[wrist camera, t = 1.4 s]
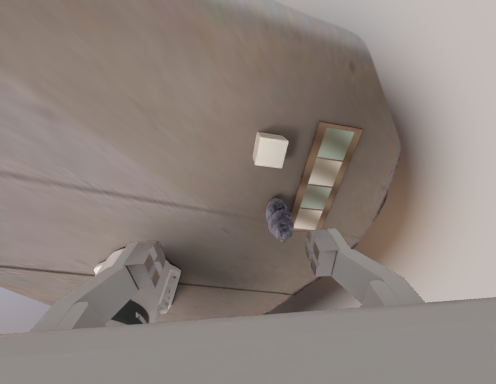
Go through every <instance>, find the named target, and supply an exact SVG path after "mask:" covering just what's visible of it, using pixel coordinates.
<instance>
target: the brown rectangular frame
mask: <svg viewBox="0 0 496 384" xmlns="http://www.w3.org/2000/svg"><path fill="white" fill-rule="evenodd" d="M362 131H363V129H358V128H353V127H347V126H341V125H335V124H330V123H324V122H319V123H318V127H317V130H316V133H315V136H314V139H313V143H312V146H311V149H310V152H309V155H308V158H307V162H306V165H305V168H304V171H303V174H302V177H301V181H300V184H299V187H298V190H297V193H296V196H295V200H294V203H293V206H292V209H291V220H292V221H293V223H294V228H293V231H304V232H307V231H308V230H320V229H322V226H323V224H324V221H325V219H326V217H327V214H328V212H329V210H330V207H331V205H332V202H333V200H334V198H335V195H336V193H337V191H338V188H339V186H340V183H341V181H342V179H343V176H344V174H345V172H346V169H347V167H348V164H349V162H350V160H351V157H352V155H353V153H354V150H355V148H356V145H357V143H358V141H359V138H360V136H361V134H362Z"/></svg>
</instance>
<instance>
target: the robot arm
mask: <svg viewBox="0 0 496 384" xmlns="http://www.w3.org/2000/svg"><path fill="white" fill-rule="evenodd" d="M307 238H308V240H307V241H306V245H305V249H306V254H307V257H308V260H310V261H311V267H312V270H313V272H314V275H315V277H318V276H332V278H334V279H335V280H336V281H337V282H338V283H339V284H340V285H341V286H342V287H344V288H345V289H346V290H347V291H348V292H349V293H350V294H351V295H353V296H354V297H355V298H356V299H357V300H358V301H359V302H360V303H361V304H362V305H361V307H360V308H348V309H334V310H322V311H307V312H296V313H282V314H268V315H255V316H242V317H228V318H214V319H201V320H187V321H174V322H160V323H156V322H157V319H158V316H159V313H162V314H166V313H167V310H168V309H169V308H170V306H171V304H172V301H173V298H174V294H175V291H176V288H177V285H178V281H179V278H180V275H181V270H180V269H178V268H177V267H175V266H173V265H171V264H170V263H169V262H168V261H167V260H166V259H165V254H164V252H163V251H161V250H160V249H161V247H162V246H161V244H160V242H159V241H148V242H131V243H129V244H128V245H127V246H126V247H125V248H124V249H120V250H118V251H115V252H114V253H112V254H111V255H110V256H109V258H108V259H107V260H106V261H104V262H102V263H99V264H98V265H96V267H95V269H94V272H95V273H96V275H95V276H94V277H93V278H91V279H90V280H88V281H87V282H85V283H84V284H82V285H81V286H79V287H78V288H76V289H75V290H73V291H72V292H70V293H69V294H67V295H66V296H64V297H63V298H61V299H60V300H58V301H57V302H55V303H54V304H53V305H52V306H51V307H50V309H49V310H48V311H47V312H46V313H45V315H44V316H43V317H42V318H41V319H40V320H39V321H38V323H37V324H36V325H35V326H34V327H33V328H32V330H31V331H30V332H26V333H13V334H0V384H496V297H494V298H482V299H468V300H455V301H443V302H428V303H425V302H424V301H423V300H422V298H421V297H420V296H419V295H418V294H417V292H416V291H415V290H414V289H413V288H412V287H411V286H410V284H409V283H408V282H407V281H406V280H405V279H404V278H403V277H401V276H400V275H398V274H396V273H395V272H393V271H391V270H389V269H388V268H386V267H384V266H382V265H381V264H379V263H377V262H375V261H373V260H372V259H370V258H368V257H367V256H365V255H363V254H361V253H360V252H358V251H356V250H354V249H351V248H350V247H349V246H348V244H347V243H346V241H345V240H344V239H343V237H342V236H341V234H340V233H339V231H338V230H337V229H336V228H330V229H320V230H308V231H307Z"/></svg>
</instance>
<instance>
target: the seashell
mask: <svg viewBox="0 0 496 384" xmlns="http://www.w3.org/2000/svg"><path fill="white" fill-rule="evenodd" d="M266 220H267V223H268V229H269V231H270V232H271V234H272V235H274V236H275V237H276V238H277V239H278V240H280V241H281V242H285V241H286V240H287V239H288V238H289V237H291V236H292V230H293V228H294V223H293V221H292V220H291V212H290V211H288V210H287V206H286V205H285V203H284V202H283V200H282V199H278V198H274V199H272V200H269V203H268V205H267V208H266Z"/></svg>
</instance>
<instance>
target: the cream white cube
mask: <svg viewBox="0 0 496 384" xmlns="http://www.w3.org/2000/svg"><path fill="white" fill-rule="evenodd" d="M288 143H289V141H288V140H287V139H286V138H284V137H283V136H282V135H275V134H269V133H263V132H257V135H256V141H255V146H254V152H253V160H254V163H255V165H259V166H267V167H274V168H282V166H283V162H284V158H285V154H286V150H287V146H288Z"/></svg>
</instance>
